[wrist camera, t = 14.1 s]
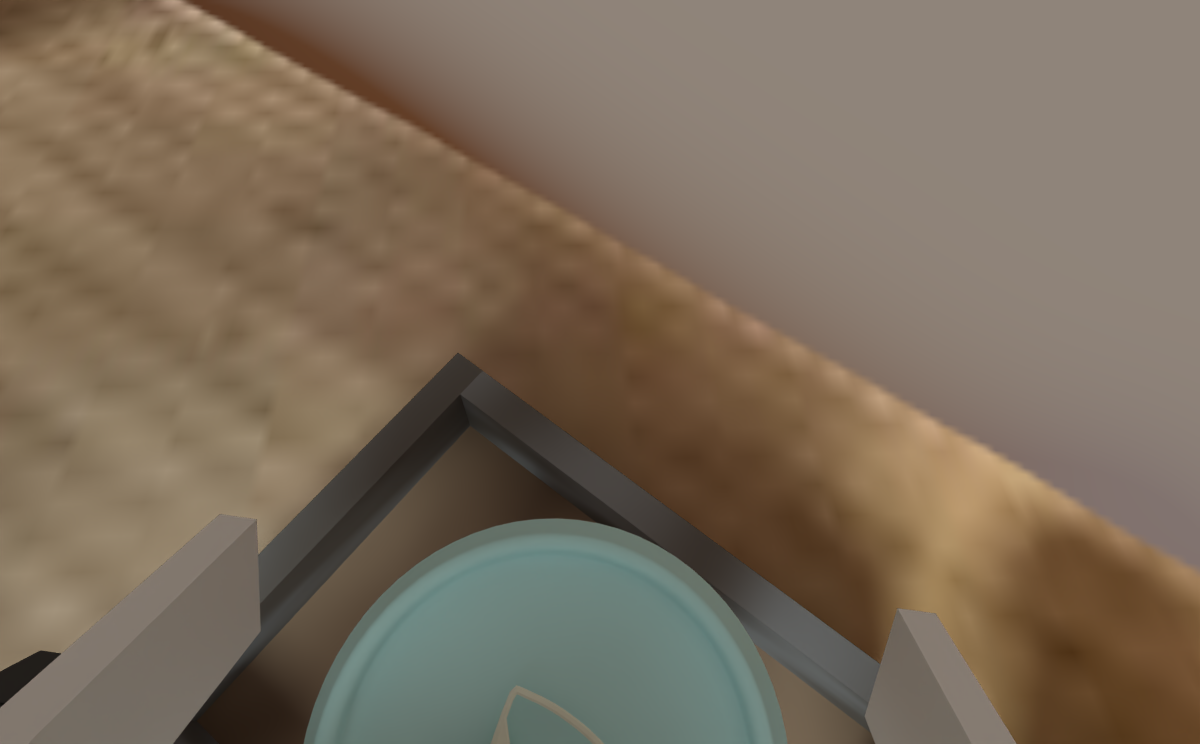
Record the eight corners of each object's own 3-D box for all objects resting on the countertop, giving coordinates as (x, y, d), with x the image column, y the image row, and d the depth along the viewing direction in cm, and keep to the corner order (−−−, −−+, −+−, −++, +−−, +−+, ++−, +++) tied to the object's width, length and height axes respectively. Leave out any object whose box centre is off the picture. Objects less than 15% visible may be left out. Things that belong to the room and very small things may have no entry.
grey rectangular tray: (215, 728, 23) (85, 729, 17) (481, 435, 28) (458, 352, 22) (666, 1187, 19) (717, 1417, 13) (886, 746, 24) (1001, 754, 17)
